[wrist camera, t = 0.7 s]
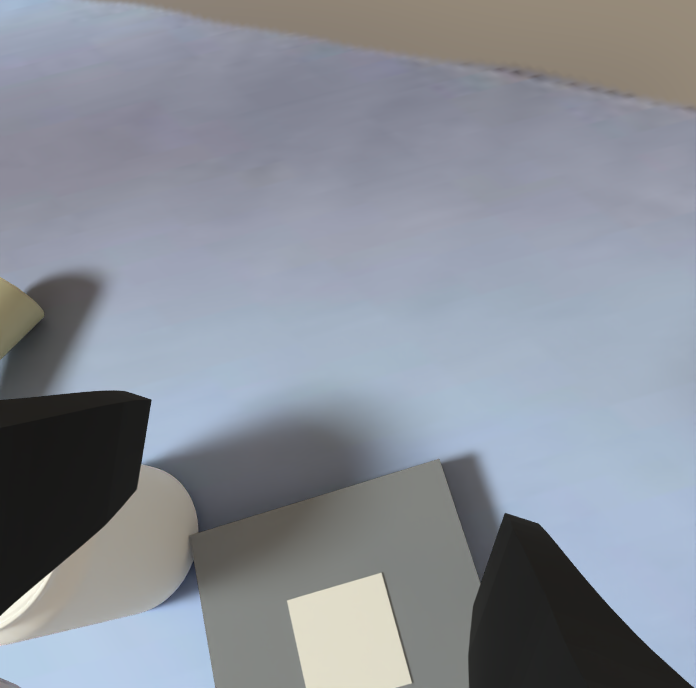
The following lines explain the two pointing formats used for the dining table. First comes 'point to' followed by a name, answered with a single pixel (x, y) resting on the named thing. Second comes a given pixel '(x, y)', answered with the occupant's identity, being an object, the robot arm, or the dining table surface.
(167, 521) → the beverage can
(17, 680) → the dining table surface
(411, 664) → the slate base
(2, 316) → the flower vase
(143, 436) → the robot arm
